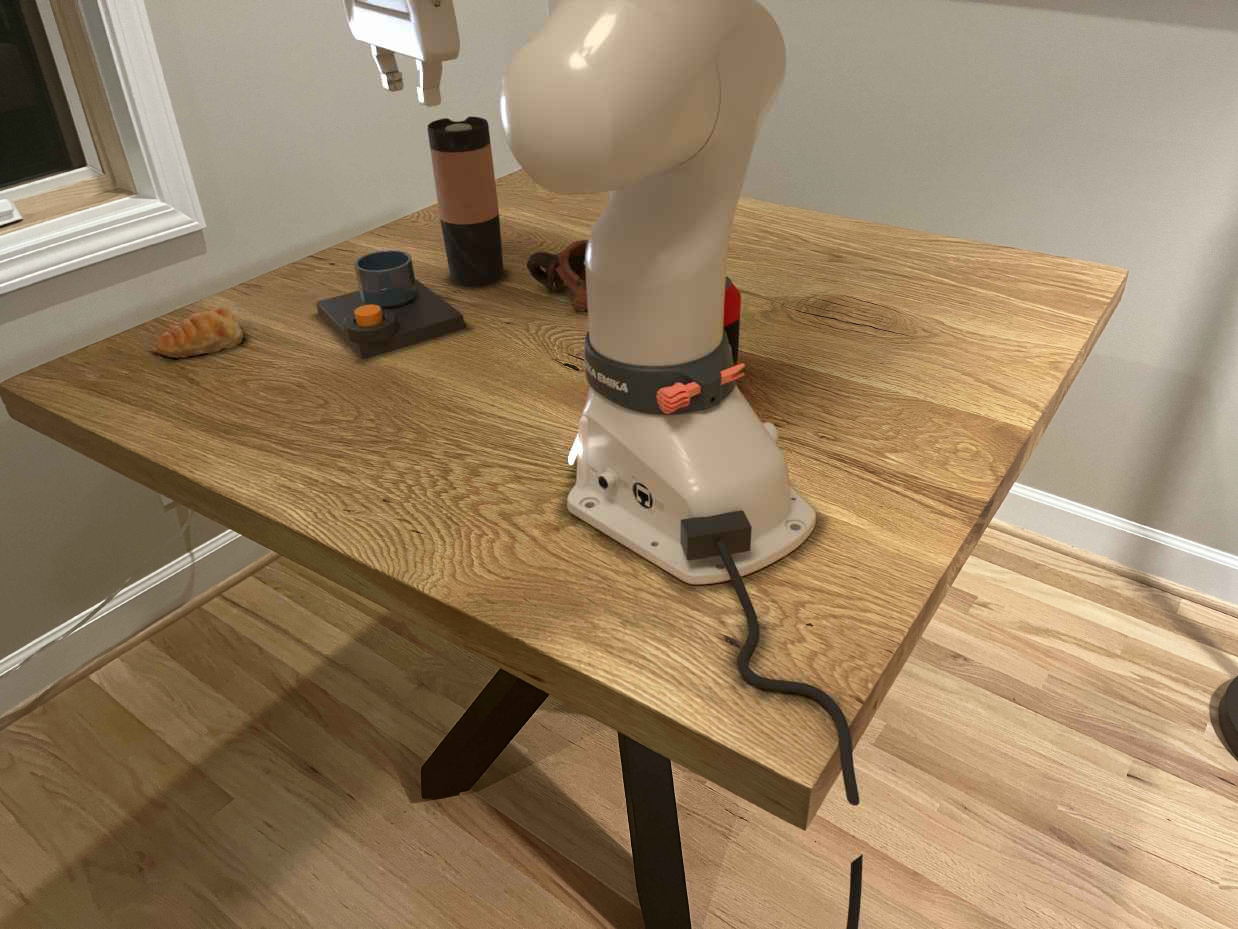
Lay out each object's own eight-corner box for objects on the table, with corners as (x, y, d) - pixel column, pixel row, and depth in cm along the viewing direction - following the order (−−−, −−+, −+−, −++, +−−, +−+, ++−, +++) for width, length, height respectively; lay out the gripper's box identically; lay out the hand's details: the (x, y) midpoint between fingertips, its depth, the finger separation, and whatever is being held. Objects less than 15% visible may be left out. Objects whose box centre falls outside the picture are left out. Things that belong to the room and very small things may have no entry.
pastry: (168, 368, 103) (157, 338, 101) (152, 348, 107) (141, 319, 105) (249, 343, 108) (240, 313, 105) (230, 325, 112) (221, 296, 110)
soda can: (677, 412, 91) (678, 303, 85) (655, 377, 97) (654, 273, 91) (747, 400, 93) (753, 292, 86) (721, 367, 99) (725, 263, 92)
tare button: (387, 323, 104) (384, 310, 103) (362, 330, 102) (359, 317, 101) (377, 314, 106) (375, 301, 105) (353, 321, 104) (350, 308, 104)
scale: (466, 330, 108) (463, 303, 106) (360, 363, 102) (354, 335, 100) (414, 289, 119) (410, 264, 117) (315, 316, 113) (309, 290, 111)
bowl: (426, 300, 111) (420, 262, 109) (374, 315, 108) (366, 276, 106) (404, 283, 116) (398, 246, 113) (354, 296, 113) (346, 258, 110)
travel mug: (477, 292, 117) (457, 134, 106) (437, 280, 121) (413, 126, 110) (517, 273, 122) (501, 120, 111) (477, 261, 126) (458, 113, 115)
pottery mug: (615, 281, 120) (629, 239, 113) (609, 338, 116) (623, 298, 109) (526, 262, 119) (534, 219, 111) (517, 319, 114) (525, 278, 107)
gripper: (465, -53, 80) (484, 109, 88) (378, -63, 95) (401, 78, 102) (399, -47, 78) (425, 120, 85) (320, -58, 92) (348, 87, 100)
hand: (411, 97), depth 94 cm, fingers open, 8 cm apart
